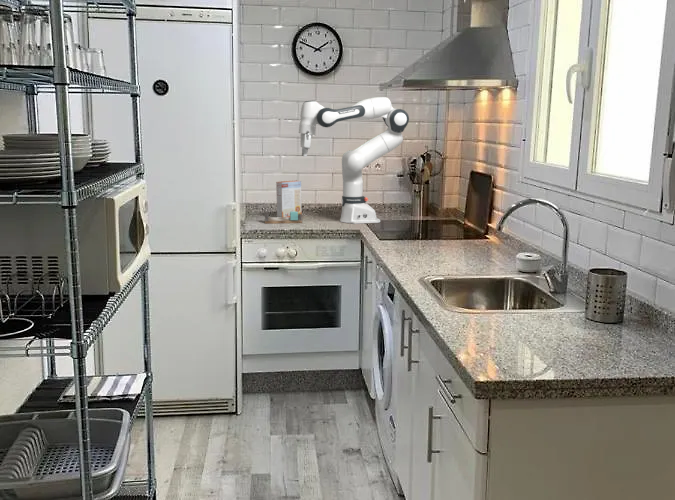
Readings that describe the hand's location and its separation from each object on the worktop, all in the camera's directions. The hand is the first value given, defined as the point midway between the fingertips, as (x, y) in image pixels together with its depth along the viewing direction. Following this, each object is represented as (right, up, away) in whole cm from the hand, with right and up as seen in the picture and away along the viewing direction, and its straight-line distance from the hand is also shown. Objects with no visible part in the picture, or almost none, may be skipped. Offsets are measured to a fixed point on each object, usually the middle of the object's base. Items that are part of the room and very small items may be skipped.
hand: (304, 156), depth 380 cm
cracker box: (-10, -32, +25) cm, 42 cm away
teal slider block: (-6, -34, +6) cm, 35 cm away
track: (-12, -35, +6) cm, 38 cm away
